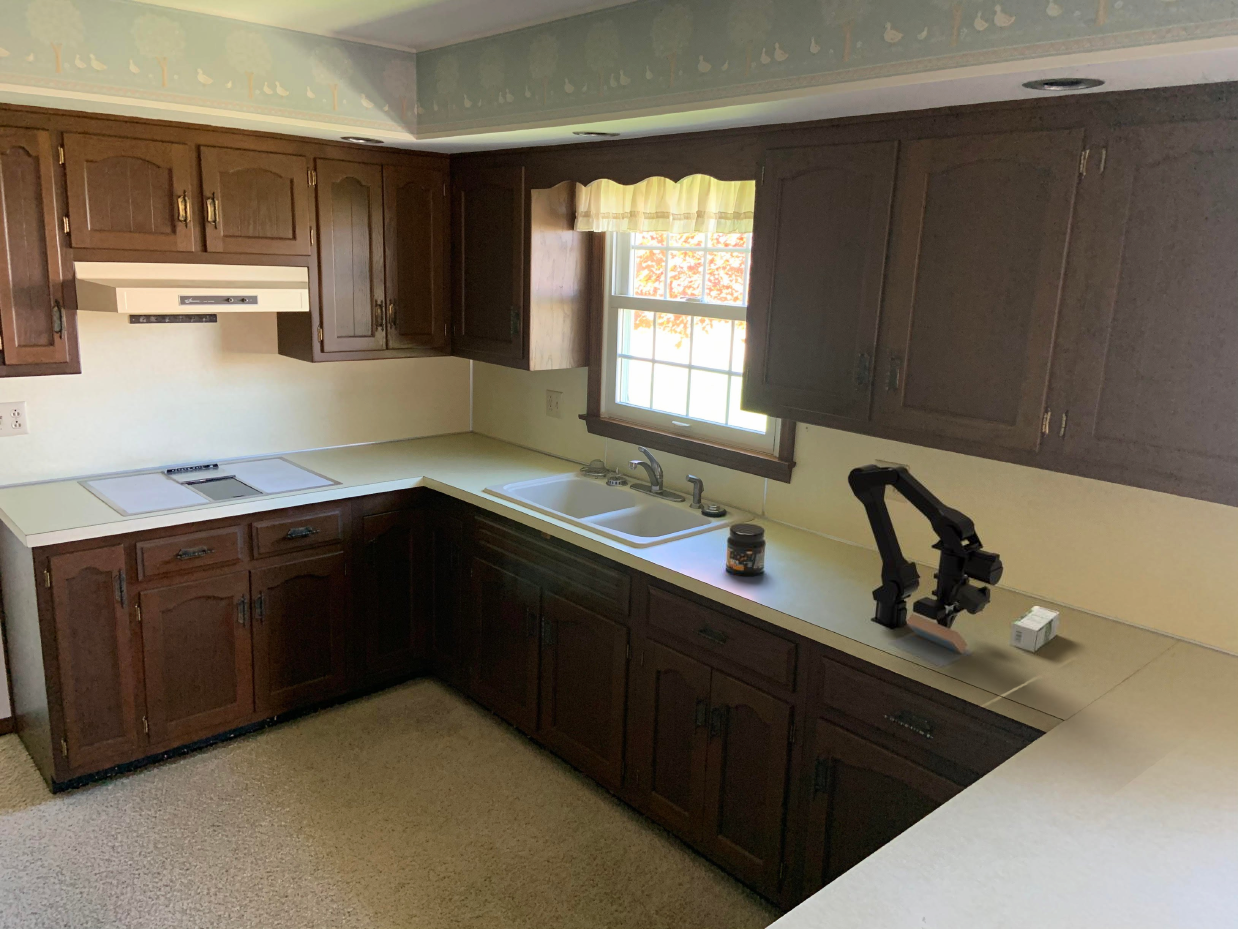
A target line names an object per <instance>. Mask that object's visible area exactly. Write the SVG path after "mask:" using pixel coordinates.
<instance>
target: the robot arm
mask: <svg viewBox="0 0 1238 929" xmlns="http://www.w3.org/2000/svg"><path fill="white" fill-rule="evenodd" d="M847 483H848V485H849V487H850V489H851V492H852V493H853V496H854V497H855V498H856V499H858V501H859V502H860V503H861V504H862V505H863V507H864V510H865V513H866V516H867V519H868V522H869V523H868V524H869V525H870V528H871V531H872V534H873V538H874V541H875V544H876V547H877V550H878V552H879V555H880V559H881V562H882V564H881V565H882V566H881V572H880V579H881V585H880V586H879V587H877V588H875V589H874V590H872V592H871V593H872V594H871V595H872V599H873V601H875V602H876V603H875V612H874V613H875V614H874V617H871V618H870V621H872V622H873V623H876V624H879V625H880V626H882V627H885V628H888V629H889V630H895V629H898V628H900V627H902V626H905V625H908V624H907V621H908V620H907V616H908V608H907V600H906V599H909V598H911V596H912V594H914V593H915V592H917V590H918V588H919V586H920V580H919V579H920V578H921V576H920V574H919V572H918V570H917V569H918V568H917V565H916V562H914V561H911V562H909V561H908V560H907V559H906V558H905V557H904V555H903V552H902V549H901V545H900V543H899V540H898V537H897V534H896V531H895V528H894V524H893V522H892V519H891V516H890V514H889V510H888V507H887V504H886V500H885V495H886V488H887V487H886V486H892V487H893V488H894V489H895V490H896V491H897V492H898V493H900V494H901V495H902V496H903V497H904V498H905V499H906V500H907V501H908V502H909V503H910V504H911V505H912V506H913V507H915V509H916V510H918V511H919V512H920V513H921V514H922V515H923V516H924V517H925V518H926V519H927V520H928V521H929V523H930V526H931V528H932V530H933V532H934V533H935V535H936V536H937V537H938V540H937V542H935V543H934V544H932V545H931V548H932V549H934V550H937V551H940V552H939V560H938V571H937V572H936V573H935V572H934V573H933V579H936V586H935V589H933V590H931V596H934V597H936V598H935V599H933V598H931V597H929V596H925V597H922V598H919V599H917V600H915V601H913V604H912V613H916V614H917V615H919V616H924V617H925V618H926V619H930V620H931V621H932V620H933V621H936V623H937V624H939V625H941V626H944V627H946V628H949V629H951V628H952V626H953V624H954V623H955V622H954V621H955V620H956V617H957V616H958V614H960V613H961V612H963V611H965V610H966V612H967V613H968V614H970V615H976V614H978V613H980V612H983V611H984V609H985V607H986V605H987V604H990V603H991V600H990V599H991V589H990V588H989V587H988V586H987V585H990V586H995V585H997V584H998V583H999V582H1000V580H1001V578H1002V576H1003V571H1004V567H1003V562H1002V560H1001V559H1000V557H1001V555H1000V553H995V552H989V551H988V550H987V551H986V550H983V548H984V545H983V543H982V541H981V539H980V537H979V536H978V532H977V531H976V529H975V523H974V521H973V519H971V518H970V517H969V516H967V514H964V513H963V512H961V511H960V510H958V509H956V508H953V507H949V506H948V505H946V504H944V502H942V501H941V500H940V499H939V498H938V497H937V496H935V495H934V493H932V492H931V491H930V490H929V489H928V488H927V487H925V485H923V483H921V481H918V479H916V477H914V475H913V474H911V473H910V472H909V470H908V468H907V467H905V466H901V465H897V466H881V467H880V466H878V464H874V463H870V464H866V465H862V466H859V467H858V466H857V467H854V468H853V469H851V470H850V472H849V474H848V475H847ZM966 541H967V542H968V543H966V544H963V543H964V542H966ZM971 579H972V580H974V581H975V580H976V581H977V582H981V583H984V584H987V585H983V586H981V587H979V586H976V585H973V584H970V581H971Z"/></svg>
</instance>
